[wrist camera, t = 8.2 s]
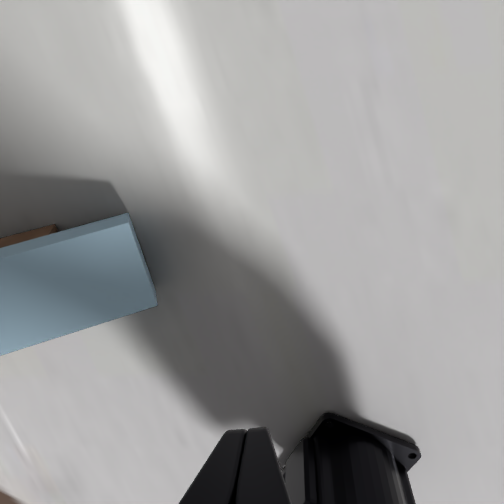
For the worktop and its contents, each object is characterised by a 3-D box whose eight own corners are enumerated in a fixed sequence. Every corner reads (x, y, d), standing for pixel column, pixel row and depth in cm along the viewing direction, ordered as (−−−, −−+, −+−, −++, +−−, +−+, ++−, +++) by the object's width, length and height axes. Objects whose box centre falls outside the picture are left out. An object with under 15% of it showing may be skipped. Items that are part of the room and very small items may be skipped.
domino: (128, 222, 18) (-66, 277, 17) (157, 305, 20) (-16, 360, 19) (128, 212, 20) (-51, 262, 18) (155, 290, 22) (-6, 341, 20)
